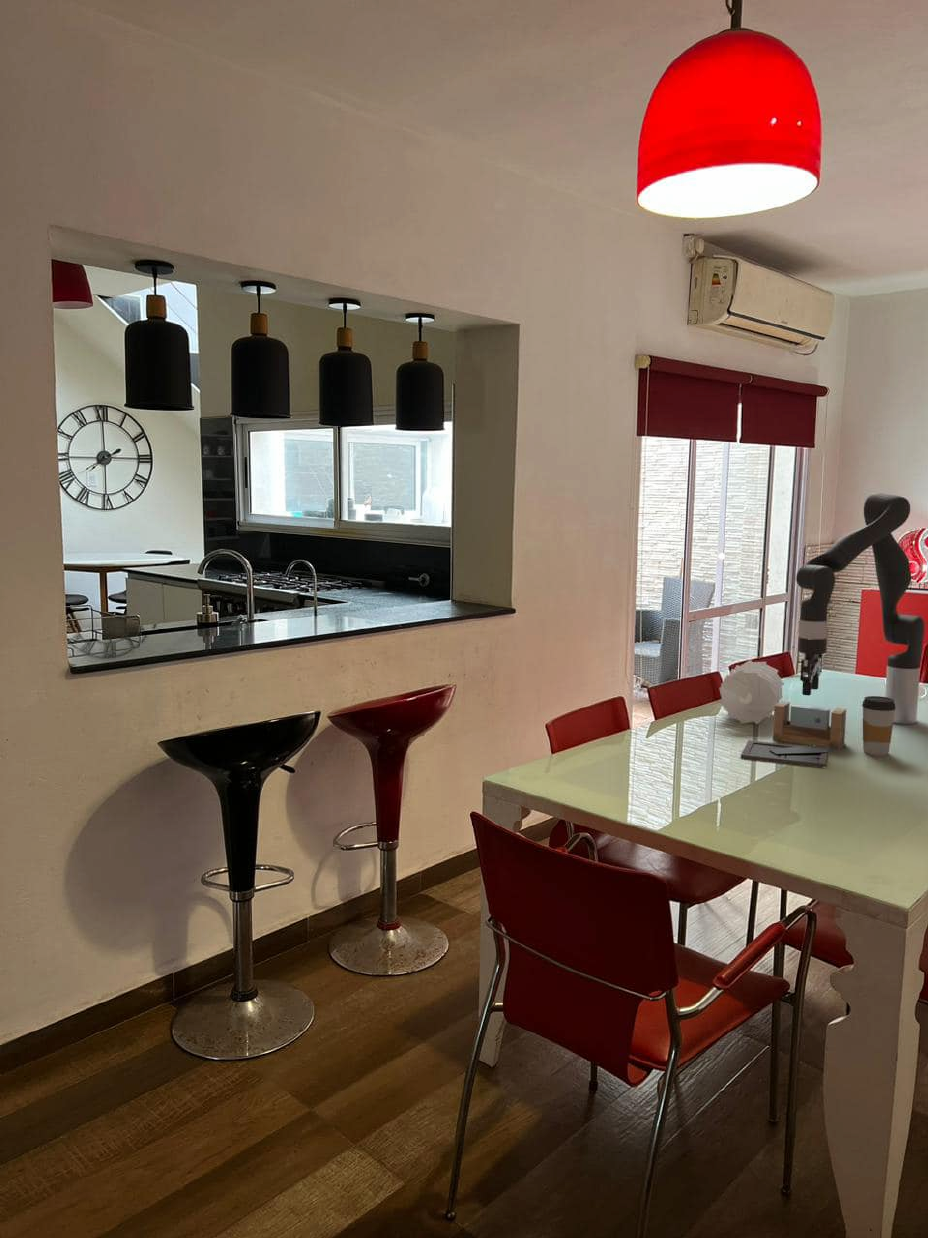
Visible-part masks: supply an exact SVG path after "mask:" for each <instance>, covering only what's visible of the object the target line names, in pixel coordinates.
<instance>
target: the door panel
mask: <svg viewBox="0 0 928 1238" xmlns="http://www.w3.org/2000/svg"><path fill="white" fill-rule="evenodd" d="M830 714H831V708H826V707H819V706H811V705H803V704H791V706H790V713H789V721H790V726H797V727H805V728H812V729H819V730H827V731H829V726H830V720H831V718H830V717H831V716H830Z"/></svg>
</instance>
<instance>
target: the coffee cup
mask: <svg viewBox="0 0 928 1238" xmlns="http://www.w3.org/2000/svg"><path fill="white" fill-rule="evenodd" d="M861 706H862V744H863V745H862V746H863V747H862V749H863V751H864V753H865V754H868V755H871V756H877V757H879V756H883V757H884V756H887V755H888V754H889V752H890V747H891V741H892V735H893V730H894V729H893V727H894V722H893V719H894V712H895V709H896V708H895V703H894V700H893V699H891V698H887V697H885V696H878V695H876V696H875V695H871V696H870V695H869V696H865V697H864V699H863V701H862V704H861Z"/></svg>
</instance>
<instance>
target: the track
mask: <svg viewBox="0 0 928 1238" xmlns="http://www.w3.org/2000/svg"><path fill="white" fill-rule="evenodd" d="M790 703H791V702H790V701H782V700H781V701H779V703H778V704H776V705H775V706H774V711H773V731H772V740H773V739H774V740H773V741H779V740H781V742H786V741H789V742H788V743H793V742H795V743H794V744H800V743H801V744H800V745H807V744H808V745H815V746H823V747H828V749H834V748H835V750H840V749H841V748H842V746H843V745H844V744H845V739H846V737H845V736H846V735H845V734H846V719H847V718H846V717H847V708H840V707H836V708H835V709H834V710H833V711H831V712H830V714H831V716H830V717H831V718H830V725H829V731H827V730H819V729H812V728H805V727H797V726H790V708H791V706H790V705H791V704H790Z"/></svg>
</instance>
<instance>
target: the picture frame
mask: <svg viewBox="0 0 928 1238" xmlns="http://www.w3.org/2000/svg"><path fill="white" fill-rule="evenodd" d="M828 753H829V748H828V747H823V746H814V745H807V744H803V745H799V744H798V745H795V744H789V743H788V744H787V743H780V742H779V743H778V742H768V741H758V740H750V739H749V740H748V741H747V742H746V745H745V746H744V748H743V750H742V752H741V754H740V759H743V760H751V761H759V762H760V761H761V762H769V763H776V764H777V763H778V764H787V765H788V764H789V765H793V766H794V765H796V766H803V767H810V768H811V767H813V768H820V767H825V768H826V764H827V761H828V760H827V759H828V755H829V754H828Z"/></svg>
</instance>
